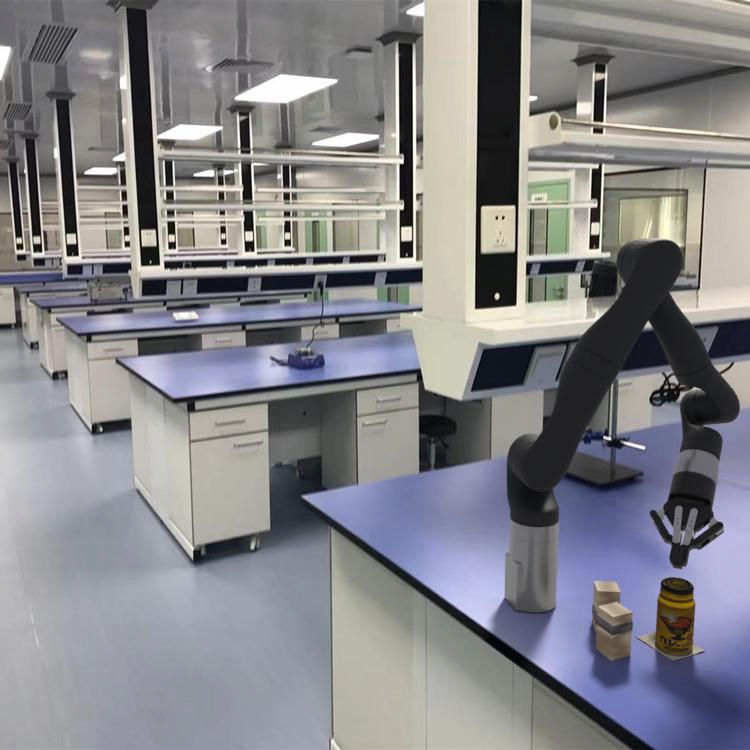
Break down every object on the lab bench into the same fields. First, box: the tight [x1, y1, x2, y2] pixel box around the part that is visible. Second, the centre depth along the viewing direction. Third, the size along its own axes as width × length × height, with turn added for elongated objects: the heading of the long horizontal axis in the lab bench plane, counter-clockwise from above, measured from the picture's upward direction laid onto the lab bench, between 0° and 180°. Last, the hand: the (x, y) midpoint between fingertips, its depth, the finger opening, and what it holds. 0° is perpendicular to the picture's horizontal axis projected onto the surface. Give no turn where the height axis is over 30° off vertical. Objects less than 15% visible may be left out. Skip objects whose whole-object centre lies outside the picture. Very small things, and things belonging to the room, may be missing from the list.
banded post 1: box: [591, 580, 621, 633], centre depth 135 cm, size 4×4×8 cm
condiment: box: [636, 576, 705, 662], centre depth 128 cm, size 7×8×12 cm
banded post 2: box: [595, 602, 634, 662], centre depth 126 cm, size 4×4×8 cm
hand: (677, 566), depth 129 cm, fingers closed
